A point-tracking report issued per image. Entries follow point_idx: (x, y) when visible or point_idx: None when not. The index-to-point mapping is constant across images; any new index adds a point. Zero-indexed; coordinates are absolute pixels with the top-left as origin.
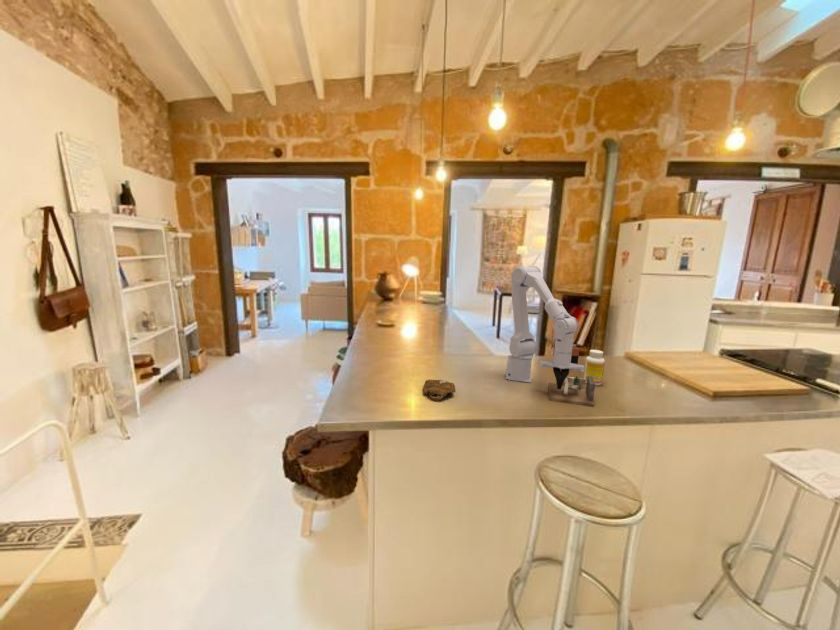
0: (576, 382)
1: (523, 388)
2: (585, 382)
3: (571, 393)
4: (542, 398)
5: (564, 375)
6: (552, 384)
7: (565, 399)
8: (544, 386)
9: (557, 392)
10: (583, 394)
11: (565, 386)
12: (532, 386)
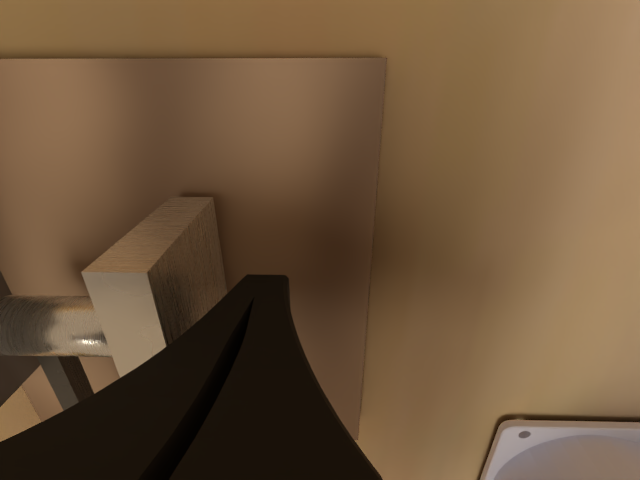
0: None
1: (604, 297)
2: None
3: None
4: (456, 90)
5: (88, 437)
6: None
7: (183, 70)
8: (391, 390)
9: (285, 260)
10: None
11: (156, 244)
12: (498, 362)
